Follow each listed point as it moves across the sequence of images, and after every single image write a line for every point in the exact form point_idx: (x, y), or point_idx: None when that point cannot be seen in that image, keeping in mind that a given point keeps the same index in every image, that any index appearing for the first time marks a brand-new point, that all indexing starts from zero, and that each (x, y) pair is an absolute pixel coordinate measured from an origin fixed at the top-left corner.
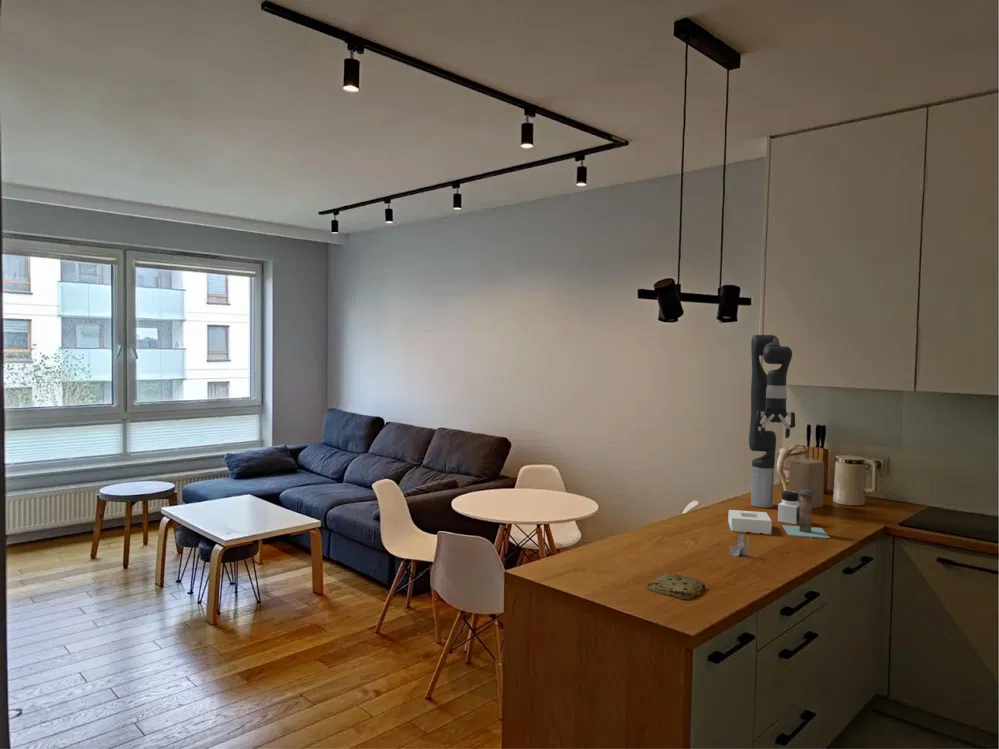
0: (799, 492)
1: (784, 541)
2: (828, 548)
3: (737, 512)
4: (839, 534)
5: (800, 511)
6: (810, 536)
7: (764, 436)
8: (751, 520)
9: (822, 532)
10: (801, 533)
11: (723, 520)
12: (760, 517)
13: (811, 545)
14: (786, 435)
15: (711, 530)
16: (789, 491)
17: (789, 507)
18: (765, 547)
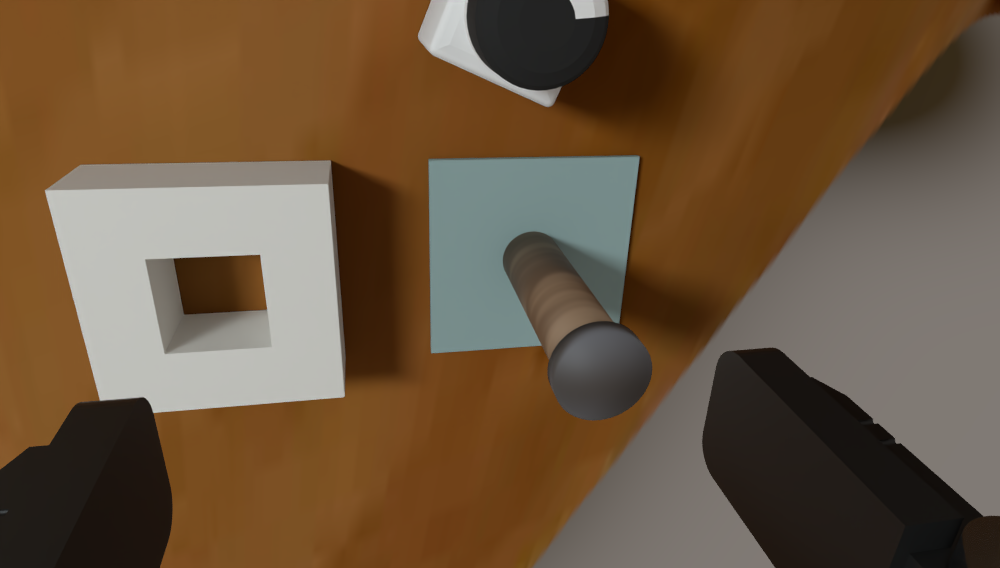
0: (551, 382)
1: (395, 448)
2: (560, 478)
3: (123, 256)
4: (690, 240)
5: (528, 315)
6: (532, 345)
7: (157, 536)
8: (228, 404)
9: (613, 255)
10: (500, 310)
11: (37, 120)
12: (282, 340)
13: (502, 463)
14: (740, 507)
15: (10, 390)
16: (542, 12)
17: (502, 86)
18: (303, 556)
